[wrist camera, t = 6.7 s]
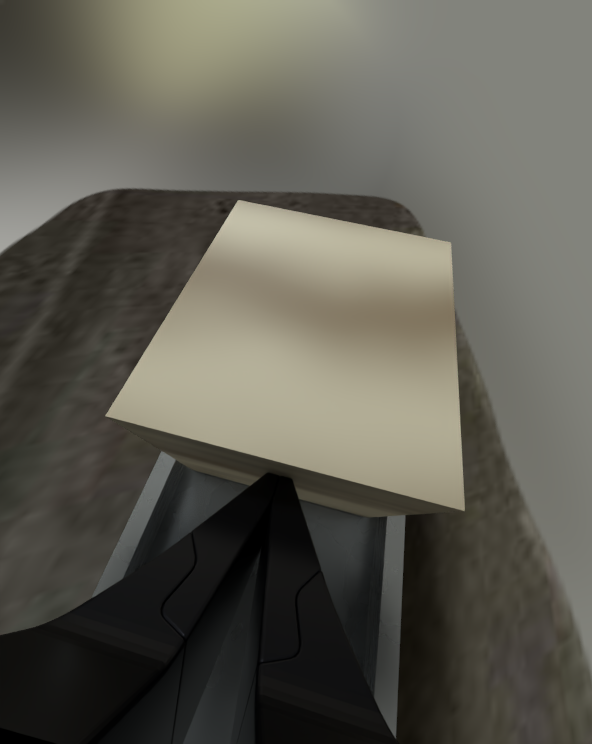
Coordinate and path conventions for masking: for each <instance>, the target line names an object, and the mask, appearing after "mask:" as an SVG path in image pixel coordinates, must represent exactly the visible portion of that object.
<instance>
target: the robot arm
mask: <svg viewBox="0 0 592 744" xmlns="http://www.w3.org/2000/svg"><path fill="white" fill-rule="evenodd" d="M260 550H261V552H260ZM259 553H260V557H259V563H258V569H257V576H256V582H255V588H254V595H253V601H252V608H251V614H250V620H249V627H248V633H247V640H246V646H245V652H244V659H243V665H242V672H241V678H240V684H239V691H238V697H237V704H236V710H235V716H234V723H233V729H232V736H231V742H230V744H399V743H398V741H397V740H396V738H395V737H394V735H393V733H392V732H391V730H390V728H389V727H388V725H387V723H386V721H385V719H384V717H383V715H382V714H381V711H380V709H379V707H378V705H377V703H376V701H375V698H374V696H373V694H372V692H371V689H370V687H369V685H368V683H367V680H366V678H365V676H364V674H363V671H362V669H361V667H360V665H359V662H358V660H357V658H356V656H355V653H354V651H353V649H352V647H351V644H350V642H349V640H348V638H347V635H346V633H345V631H344V628H343V626H342V624H341V621H340V619H339V616H338V614H337V612H336V609H335V607H334V604H333V601H332V598H331V596H330V593H329V590H328V587H327V584H326V581H325V578H324V575H323V572H322V571H321V566H320V563H319V560H318V557H317V553H316V550H315V547H314V544H313V541H312V538H311V535H310V532H309V529H308V525H307V522H306V519H305V516H304V513H303V510H302V507H301V504H300V501H299V498H298V494H297V491H296V488H295V485H294V482H293V480H292V479H291V478H288V477H284V476H280V477H279V475H276V474H273V473H269V472H268V473H266V474H264V475H263V476H262V477H261V478H259V479H258V480H257V481H255V482H254V483H253V484H252V485H250V486H249V487H248V488H246V489H245V490H244V491H243V492H241V493H240V494H239V495H237V496H236V497H235V498H234V499H232V500H231V501H230V502H228V503H227V504H226V505H225V506H223V507H222V508H221V509H219V510H218V511H217V512H216V513H214V514H213V515H212V516H210V517H209V518H208V519H207V520H205V521H204V522H203V523H201V524H200V525H199V526H198V527H196V528H195V529H194V530H192V532H191V533H188V534H187V535H186V536H184V537H183V538H182V539H181V540H179V541H178V542H177V543H175V544H174V545H173V546H171V547H170V548H168V549H167V550H166V551H164V552H163V553H162V554H160V555H159V556H157V557H156V558H154V559H153V560H151V561H150V562H148V563H147V564H145V565H144V566H142V567H140V568H139V569H137V570H136V571H134V572H133V573H131V574H129V575H128V576H126V577H125V578H123V579H121V580H120V581H118V582H117V583H115V584H114V585H112V586H110V587H109V588H107V589H106V590H104V591H102V592H101V593H99V594H98V595H96V596H94V597H93V598H91V599H90V600H88V601H86V602H85V603H83V604H82V605H80V606H78V607H77V608H75V609H73V610H72V611H70V612H68V613H66V614H64V615H62V616H60V617H58V618H56V619H54V620H52V621H49V622H47V623H45V624H42V625H39V626H36V627H33V628H29V629H26V630H21V631H17V632H12V633H8V634H3V635H0V744H183V742H184V740H185V737H186V735H187V732H188V730H189V727H190V725H191V722H192V720H193V717H194V715H195V712H196V710H197V707H198V705H199V702H200V700H201V697H202V695H203V692H204V690H205V687H206V685H207V682H208V680H209V677H210V675H211V672H212V670H213V667H214V665H215V663H216V660H217V658H218V655H219V653H220V650H221V648H222V645H223V643H224V640H225V638H226V635H227V633H228V630H229V628H230V625H231V623H232V620H233V618H234V615H235V613H236V610H237V608H238V605H239V603H240V600H241V598H242V595H243V593H244V590H245V588H246V586H247V583H248V581H249V578H250V576H251V573H252V571H253V568H254V566H255V563H256V561H257V558H258V555H259Z"/></svg>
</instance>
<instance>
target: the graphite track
mask: <svg viewBox="0 0 592 744" xmlns="http://www.w3.org/2000/svg"><path fill="white" fill-rule="evenodd" d="M248 487H249V485H246V484H242V483H238V482H235V481H231V480H227V479H224V478H220V477H216V476H213V475H209V474H205V473H202V472H198V471H194V470H192V469H190V468H188V467H187V466H185V465H183V464H182V463H180V462H179V461H177V460H175V459H174V458H172V457H171V456H169V455H167V454H166V453H164V452H161V454H160V456H159V458H158V460H157V462H156V464H155V466H154V468H153V470H152V472H151V475H150V477H149V479H148V481H147V483H146V485H145V487H144V489H143V491H142V493H141V496H140V498H139V500H138V502H137V504H136V506H135V508H134V510H133V512H132V514H131V516H130V519H129V521H128V523H127V525H126V527H125V529H124V531H123V533H122V535H121V537H120V539H119V542H118V544H117V546H116V548H115V550H114V552H113V554H112V556H111V558H110V560H109V562H108V565H107V567H106V569H105V571H104V573H103V575H102V577H101V579H100V581H99V583H98V585H97V588H96V590H95V592H94V594H93V596H92V598H93V597H94V596H96V595H98V594H99V593H101V592H102V591H104V590H106V589H107V588H109V587H110V586H112V585H114V584H115V583H117V582H118V581H120V580H121V579H123V578H125V577H126V576H128V575H129V574H131V573H133V572H134V571H136V570H137V569H139V568H140V567H142V566H144V565H145V564H147V563H148V562H150V561H151V560H153V559H154V558H156V557H157V556H159V555H160V554H162V553H163V552H164V551H166V550H167V549H168V548H170V547H171V546H173V545H174V544H175V543H177V542H178V541H179V540H181V539H182V538H183V537H184V536H186V535H187V534H188V533H191V532H192V530H194V529H195V528H196V527H198V526H199V525H200V524H201V523H203V522H204V521H205V520H207V519H208V518H209V517H210V516H212V515H213V514H214V513H216V512H217V511H218V510H219V509H221V508H222V507H223V506H225V505H226V504H227V503H228V502H230V501H231V500H232V499H234V498H235V497H236V496H237V495H239V494H240V493H241V492H243V491H244V490H245V489H246V488H248ZM299 501H300V504H301V507H302V510H303V513H304V516H305V519H306V522H307V525H308V529H309V532H310V535H311V538H312V541H313V544H314V547H315V550H316V553H317V557H318V560H319V563H320V566H321V571H322V572H323V575H324V578H325V581H326V584H327V587H328V590H329V593H330V596H331V598H332V601H333V604H334V607H335V609H336V612H337V614H338V616H339V619H340V621H341V624H342V626H343V628H344V631H345V633H346V635H347V638H348V640H349V642H350V644H351V647H352V649H353V651H354V653H355V656H356V658H357V660H358V662H359V665H360V667H361V669H362V671H363V674H364V676H365V678H366V680H367V683H368V685H369V687H370V689H371V692H372V694H373V696H374V698H375V701H376V703H377V705H378V707H379V709H380V711H381V714H382V715H383V717H384V719H385V721H386V723H387V725H388V727H389V728H390V730H391V732H392V733H393V735H394V737H395V738H396V724H397V700H398V677H399V654H400V630H401V607H402V584H403V560H404V537H405V515H400V516H385V517H370V518H367V517H363V516H360V515H356V514H352V513H349V512H345V511H341V510H338V509H334V508H330V507H327V506H323V505H319V504H316V503H312V502H308V501H304V500H301V499H299ZM260 552H261V550H260ZM259 557H260V553H259V555H258V558H257V561H256V563H255V566H254V568H253V571H252V573H251V576H250V578H249V581H248V583H247V586H246V588H245V590H244V593H243V595H242V598H241V600H240V603H239V605H238V608H237V610H236V613H235V615H234V618H233V620H232V623H231V625H230V628H229V630H228V633H227V635H226V638H225V640H224V643H223V645H222V648H221V650H220V653H219V655H218V658H217V660H216V663H215V665H214V667H213V670H212V672H211V675H210V677H209V680H208V682H207V685H206V687H205V690H204V692H203V695H202V697H201V700H200V702H199V705H198V707H197V710H196V712H195V715H194V717H193V720H192V722H191V725H190V727H189V730H188V732H187V735H186V737H185V740H184V742H183V744H230V742H231V736H232V729H233V723H234V716H235V710H236V704H237V697H238V691H239V684H240V678H241V672H242V665H243V659H244V652H245V646H246V640H247V633H248V627H249V620H250V614H251V608H252V601H253V595H254V588H255V582H256V576H257V569H258V563H259Z"/></svg>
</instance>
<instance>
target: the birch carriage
mask: <svg viewBox="0 0 592 744" xmlns="http://www.w3.org/2000/svg"><path fill="white" fill-rule="evenodd" d="M106 417H108V418H109V419H111V420H112V421H114V422H116V423H117V424H119V425H120V426H122V427H124V428H125V429H127V430H129V431H130V432H132V433H133V434H135V435H137V436H138V437H140V438H141V439H143V440H145V441H146V442H148V443H150V444H151V445H153V446H154V447H156V448H158V449H159V450H161V451H162V452H164V453H166V454H167V455H169V456H171V457H172V458H174V459H175V460H177V461H179V462H180V463H182V464H183V465H185V466H187V467H188V468H190V469H192V470H194V471H198V472H202V473H205V474H209V475H213V476H216V477H220V478H224V479H227V480H231V481H235V482H238V483H242V484H246V485H249V486H250V485H252V484H253V483H254V482H255V481H257V480H258V479H259V478H261V477H262V476H263V475H264V474H266V473H268V472H269V473H273V474H276V475H279V477H280V476H284V477H288V478H291V479H292V480H293V482H294V485H295V488H296V491H297V494H298V498H299V499H301V500H304V501H308V502H312V503H316V504H319V505H323V506H327V507H330V508H334V509H338V510H341V511H345V512H349V513H352V514H356V515H360V516H363V517H367V518H370V517H385V516H400V515H415V514H430V513H445V512H460V511H465V505H464V486H463V466H462V447H461V428H460V408H459V389H458V370H457V350H456V331H455V312H454V293H453V273H452V255H451V243H450V242H446V241H441V240H436V239H431V238H426V237H421V236H416V235H411V234H406V233H401V232H396V231H390V230H385V229H380V228H375V227H370V226H365V225H360V224H355V223H350V222H345V221H340V220H335V219H330V218H325V217H320V216H315V215H310V214H305V213H300V212H295V211H290V210H285V209H280V208H275V207H270V206H265V205H260V204H255V203H250V202H245V201H240V200H238V201H237V203H236V205H235V206H234V208H233V210H232V211H231V213H230V214H229V216H228V218H227V219H226V221H225V223H224V224H223V226H222V227H221V229H220V231H219V232H218V234H217V236H216V237H215V239H214V240H213V242H212V244H211V245H210V247H209V249H208V250H207V252H206V253H205V255H204V257H203V258H202V260H201V262H200V263H199V265H198V266H197V268H196V270H195V271H194V273H193V275H192V276H191V278H190V279H189V281H188V283H187V284H186V286H185V288H184V289H183V291H182V292H181V294H180V296H179V297H178V299H177V301H176V302H175V304H174V305H173V307H172V309H171V310H170V312H169V314H168V315H167V317H166V318H165V320H164V322H163V323H162V325H161V327H160V328H159V330H158V331H157V333H156V335H155V336H154V338H153V340H152V341H151V343H150V344H149V346H148V348H147V349H146V351H145V352H144V354H143V356H142V357H141V359H140V361H139V362H138V364H137V365H136V367H135V369H134V370H133V372H132V374H131V375H130V377H129V378H128V380H127V382H126V383H125V385H124V387H123V388H122V390H121V391H120V393H119V395H118V396H117V398H116V400H115V401H114V403H113V404H112V406H111V408H110V409H109V411H108V413H107V414H106Z"/></svg>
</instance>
